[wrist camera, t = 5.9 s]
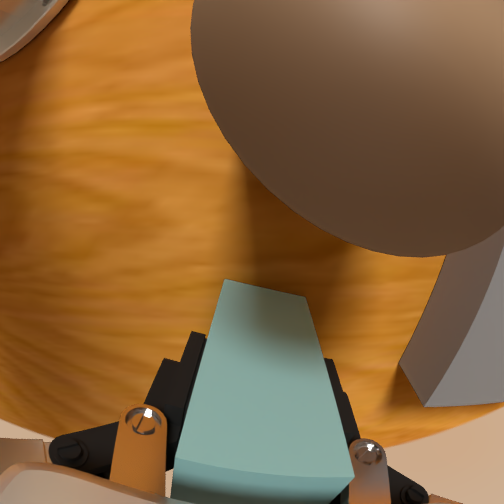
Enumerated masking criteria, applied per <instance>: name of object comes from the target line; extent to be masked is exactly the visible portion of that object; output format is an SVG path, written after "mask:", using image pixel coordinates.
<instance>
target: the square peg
mask: <svg viewBox="0 0 504 504" xmlns="http://www.w3.org/2000/svg"><path fill="white" fill-rule="evenodd" d="M354 477H355V475H354V471H353V467H352V463H351V459H350V455H349V451H348V447H347V443H346V439H345V435H344V431H343V427H342V423H341V420H340V416H339V412H338V408H337V405H336V401H335V397H334V394H333V390H332V386H331V383H330V379H329V375H328V372H327V368H326V365H325V361H324V358H323V354H322V351H321V347H320V344H319V340H318V337H317V334H316V330H315V327H314V324H313V320H312V317H311V314H310V310H309V307H308V304H307V300H306V297H303V296H298V295H294V294H289V293H284V292H280V291H275V290H271V289H267V288H262V287H258V286H253V285H249V284H245V283H240V282H236V281H232V280H228V279H224V283H223V286H222V290H221V293H220V297H219V300H218V303H217V307H216V310H215V314H214V317H213V321H212V324H211V328H210V331H209V335H208V338H207V342H206V345H205V349H204V353H203V356H202V360H201V363H200V367H199V370H198V374H197V378H196V381H195V385H194V389H193V392H192V396H191V400H190V403H189V407H188V411H187V414H186V418H185V422H184V426H183V429H182V433H181V437H180V441H179V444H178V448H177V452H176V456H175V462H174V471H173V479H172V487H171V496H170V498H172V499H176V500H180V501H185V502H189V503H194V504H329V503H330V502H331V501H332V500H333V499H334V498H335V497H336V496H337V495H338V494H339V493H340V492H341V491H342V490H343V489H344V488H345V487H346V486H347V485H348V484H349V483H350V482H351V481H352V479H353V478H354Z"/></svg>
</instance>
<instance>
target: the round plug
mask: <svg viewBox="0 0 504 504" xmlns="http://www.w3.org/2000/svg"><path fill="white" fill-rule="evenodd" d="M190 29H191V46H192V56H193V61H194V65H195V70H196V74H197V78H198V82H199V85H200V87H201V90H202V93H203V95H204V98H205V100H206V103H207V105H208V108H209V110H210V112H211V114H212V116H213V117H214V119H215V121H216V123H217V125H218V126H219V128H220V130H221V132H222V134H223V135H224V137H225V139H226V140H227V141H228V143H229V144H230V145H231V147H232V148H233V150H234V151H235V152H236V154H237V155H238V156H239V158H240V159H241V161H242V162H243V163H244V165H245V166H246V167H247V168H248V169H249V170H250V171H251V172H252V173H253V174H254V175H255V176H256V177H257V178H258V180H259V181H260V182H261V183H262V184H263V185H264V186H265V187H266V188H267V189H268V190H269V191H270V192H271V193H273V194H274V195H275V196H276V197H277V198H279V199H280V200H281V201H282V202H283V203H284V204H286V205H287V206H288V207H289V208H290V209H291V210H293V211H294V212H296V213H297V214H299V215H300V216H302V217H303V218H305V219H306V220H308V221H309V222H311V223H312V224H314V225H315V226H317V227H318V228H320V229H322V230H324V231H326V232H328V233H330V234H332V235H334V236H336V237H338V238H340V239H342V240H344V241H346V242H348V243H351V244H354V245H357V246H360V247H363V248H366V249H368V250H371V251H375V252H380V253H385V254H390V255H395V256H403V257H431V256H440V255H447V254H450V253H454V252H458V251H461V250H465V249H467V248H469V247H471V246H474V245H476V244H478V243H480V242H482V241H484V240H485V239H487V238H488V237H490V236H491V235H493V234H494V233H496V232H497V231H498V230H500V229H501V228H502V227H503V226H504V0H194V3H193V10H192V19H191V28H190Z"/></svg>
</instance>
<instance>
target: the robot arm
mask: <svg viewBox="0 0 504 504" xmlns="http://www.w3.org/2000/svg"><path fill="white" fill-rule="evenodd" d="M68 1H69V0H0V62H1V61H4V60H5V59H7V58H8V57H10V56H12V55H13V54H15V53H16V52H18V51H19V50H20V49H21V48H22V47H24V46H25V45H26V44H27V43H29V42H30V41H31V40H32V39H33V38H34V37H35V36H36V35H37V34H38V33H39V32H40V31H42V30H43V29H44V28H45V27H46V26H47V25H48V23H49V22H50V21H51V20H52V19H53V18H54V17H55V16H56V15H57V14H58V13H59V12H60V10H61V9H62V8H63V7H64V6H65V4H66V3H67V2H68ZM206 342H207V339H206V338H205V334H201V333H197V332H193V331H192V332H191V334H190V337H189V339H188V342H187V345H186V347H185V350H184V353H183V355H182V358H181V361H180V362H177V361H173V360H170V359H166V358H164V359H163V361H162V363H161V366H160V368H159V370H158V372H157V375H156V377H155V379H154V381H153V384H152V386H151V388H150V390H149V393H148V395H147V397H146V400H145V402H144V404H135V405H131V406H129V407H127V408H126V409H125V410H124V411H123V412H122V414H121V416H120V421H118V422H115V423H111V424H107V425H103V426H100V427H96V428H92V429H87V430H83V431H79V432H74V433H70V434H65V435H61V436H59V437H56V438H55V439H54V440H53V441H52V442H43V440H42V439H10V438H0V504H194V503H189V502H185V501H180V500H176V499H172V498H168V497H165V472H166V471H169V470H171V469H173V468H174V462H175V456H176V452H177V448H178V444H179V441H180V437H181V433H182V429H183V426H184V422H185V418H186V414H187V411H188V407H189V403H190V400H191V396H192V392H193V389H194V385H195V381H196V378H197V374H198V370H199V367H200V363H201V360H202V356H203V353H204V349H205V345H206ZM324 361H325V365H326V368H327V372H328V375H329V379H330V383H331V386H332V390H333V394H334V397H335V401H336V405H337V408H338V412H339V416H340V420H341V423H342V427H343V431H344V435H345V439H346V443H347V447H348V451H349V455H350V459H351V463H352V467H353V471H354V475H355V477H354V478H353V479H352V481H351V482H350V483H349V484H348V485H347V486H346V487H345V488H344V489H343V490H342V491H341V492H340V493H339V494H338V495H337V496H336V497H335V498H334V499H333V500H332V501H331V502H330V503H329V504H462V503H459V502H456V501H452V500H449V499H446V498H443V497H440V496H437V495H434V494H431V495H429V496H428V494H427V491H426V490H425V489H424V488H423V487H422V486H420V485H419V484H417V483H416V482H414V481H412V480H411V479H409V478H407V477H405V476H404V475H402V474H401V473H399V472H397V471H396V470H394V469H392V468H391V467H389V466H388V465H387V459H386V454H385V451H384V449H383V448H382V446H380V445H379V444H378V443H377V442H375V441H373V440H370V439H362V438H360V434H359V431H358V428H357V424H356V421H355V418H354V415H353V411H352V408H351V405H350V402H349V399H348V396H347V394H346V393H345V392H343V390H342V387H341V384H340V380H339V377H338V374H337V371H336V368H335V365H334V362H333V360H332V359H327V358H324Z"/></svg>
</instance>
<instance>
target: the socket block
mask: <svg viewBox="0 0 504 504" xmlns="http://www.w3.org/2000/svg"><path fill="white" fill-rule="evenodd" d="M399 365H400V366H401V368H402V370H403V371H404V373H405V375H406V377H407V378H408V380H409V382H410V384H411V385H412V387H413V389H414V391H415V392H416V394H417V396H418V398H419V399H420V401H421V403H422V405H423V407H445V406H464V405H478V404H489V403H498V402H504V226H503V227H502V228H501V229H500V230H498V231H497V232H496V233H494V234H493V235H491V236H490V237H488V238H487V239H485V240H484V241H482V242H480V243H478V244H476V245H474V246H471V247H469V248H467V249H465V250H461V251H458V252H454V253H450V254H447V255H446V258H445V261H444V264H443V266H442V269H441V272H440V274H439V277H438V279H437V282H436V284H435V287H434V289H433V292H432V294H431V297H430V299H429V301H428V304H427V306H426V308H425V310H424V313H423V315H422V317H421V319H420V321H419V324H418V326H417V328H416V330H415V332H414V334H413V336H412V338H411V340H410V342H409V344H408V346H407V348H406V350H405V352H404V354H403V356H402V358H401V359H400V361H399Z"/></svg>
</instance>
